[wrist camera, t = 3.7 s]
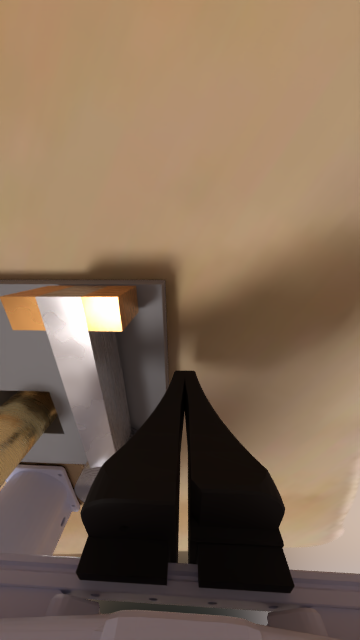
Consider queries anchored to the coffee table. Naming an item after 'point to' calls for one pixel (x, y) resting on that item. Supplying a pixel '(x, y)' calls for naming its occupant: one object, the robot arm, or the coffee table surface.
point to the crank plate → (43, 374)
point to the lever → (84, 359)
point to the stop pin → (22, 426)
